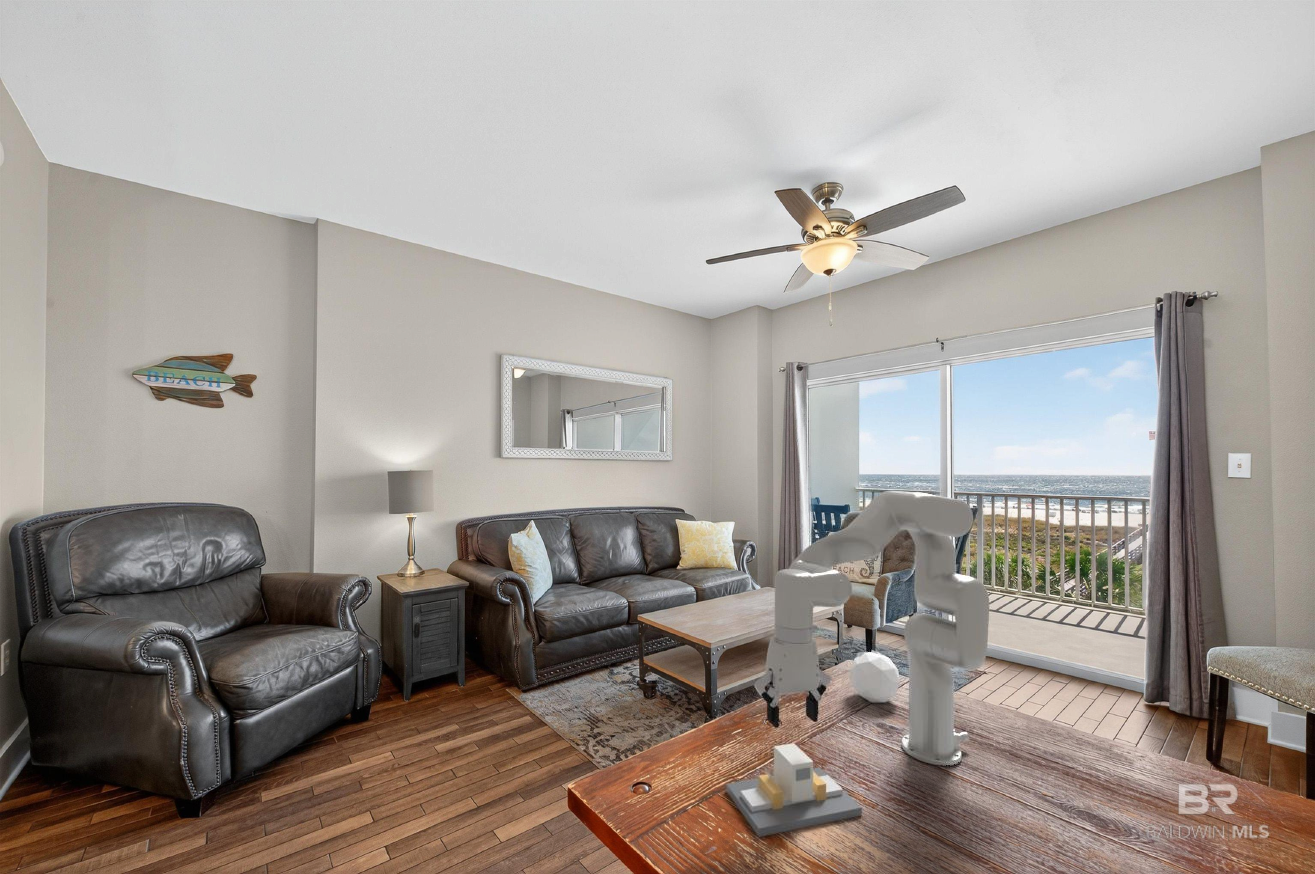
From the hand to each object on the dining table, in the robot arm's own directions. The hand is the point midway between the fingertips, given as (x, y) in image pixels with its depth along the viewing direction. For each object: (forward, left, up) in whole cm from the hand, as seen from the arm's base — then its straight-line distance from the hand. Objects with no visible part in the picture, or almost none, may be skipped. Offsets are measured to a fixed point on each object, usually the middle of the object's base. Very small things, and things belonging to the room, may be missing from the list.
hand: (792, 721), depth 109 cm
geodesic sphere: (-48, -35, -16) cm, 62 cm away
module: (0, 0, -13) cm, 13 cm away
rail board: (0, 0, -16) cm, 16 cm away
